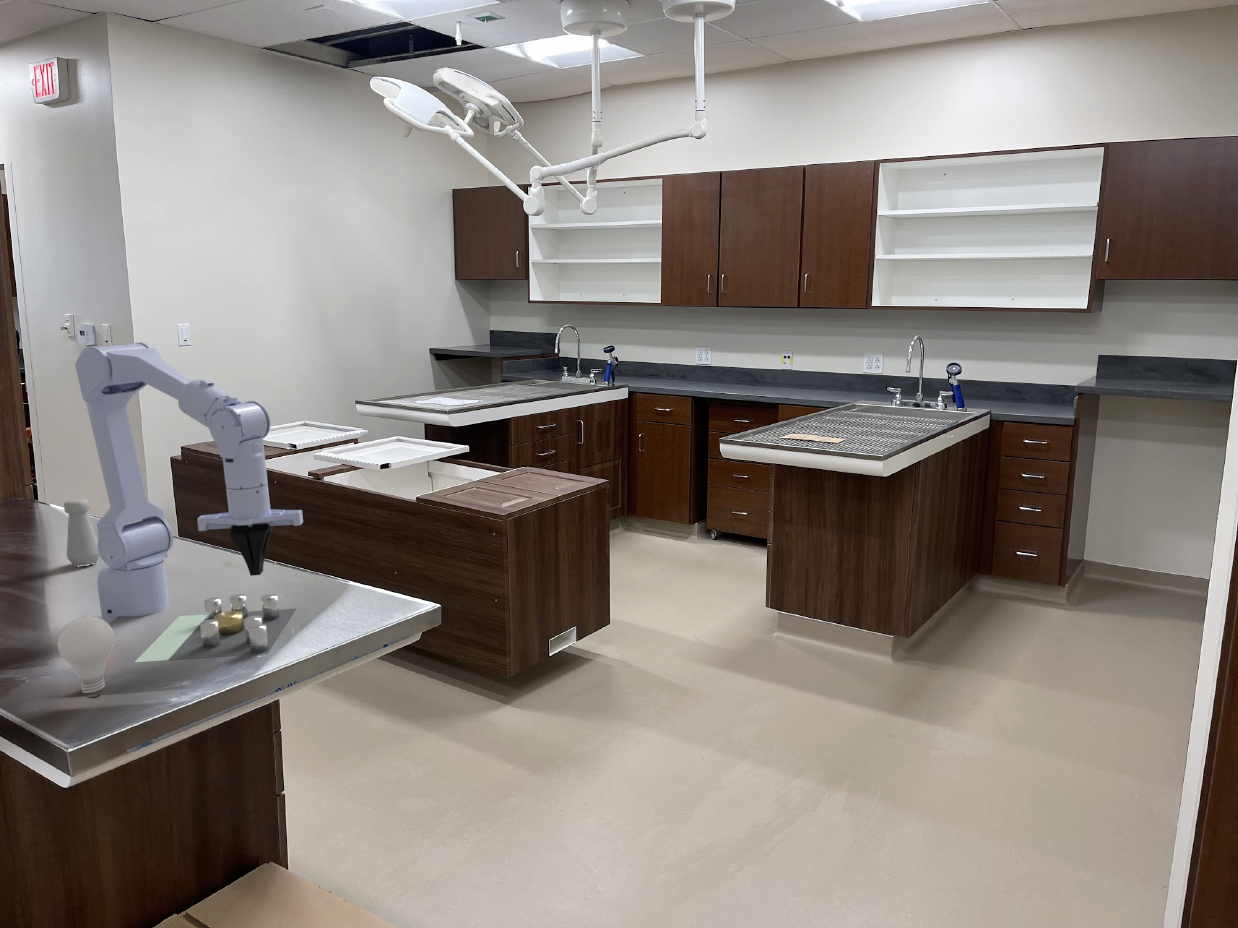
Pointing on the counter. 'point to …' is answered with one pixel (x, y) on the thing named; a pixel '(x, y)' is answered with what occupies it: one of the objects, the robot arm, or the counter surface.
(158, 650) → the mat
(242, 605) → the spacers
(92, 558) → the salt shaker
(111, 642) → the lightbulb
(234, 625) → the gold disc
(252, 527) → the robot arm
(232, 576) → the counter surface
